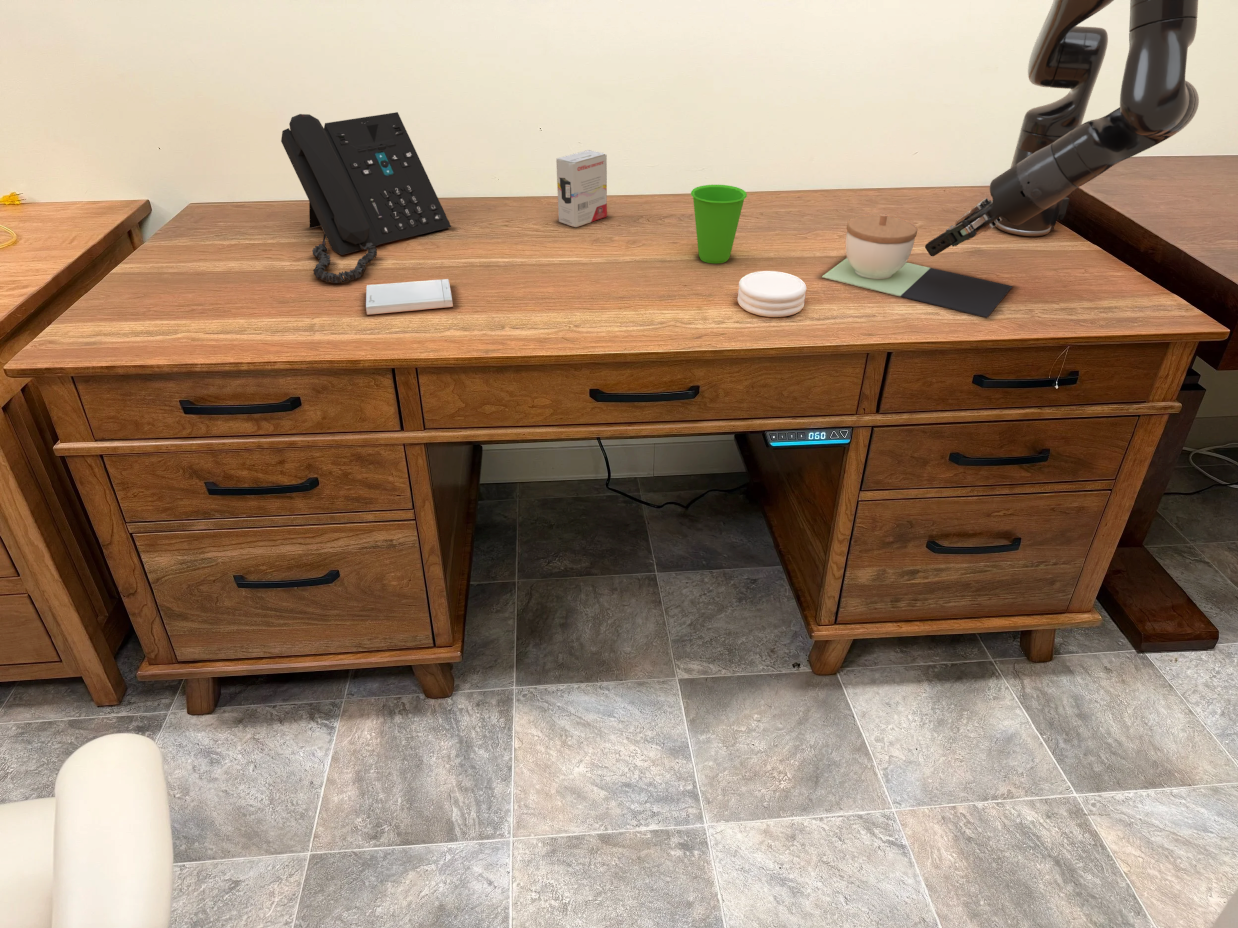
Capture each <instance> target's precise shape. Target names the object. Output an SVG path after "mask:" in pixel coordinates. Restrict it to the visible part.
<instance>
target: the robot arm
mask: <svg viewBox="0 0 1238 928" xmlns="http://www.w3.org/2000/svg"><path fill="white" fill-rule="evenodd" d="M1114 1H1115V0H1053V1H1052V4H1051V6H1050V8H1049V11H1048V13H1047V16H1046V17H1045V19H1044V22H1043V24H1042V26H1041V29H1040V31H1039V33H1038V35H1037V36H1036V37H1037V38H1036V40H1035V42H1034V45H1033V47H1032V49H1031V52H1030V56H1029V59H1028V63H1027V77H1028V80H1029V82H1030V83H1031V84H1032V85H1034V86H1037V87H1041V88H1050V89H1065V90H1069V92H1068V93H1067V94H1065V95H1064V96H1063V97H1061V98H1059V99H1057V100H1055V101H1053V102H1051V103H1047V104H1043V105H1039V106H1037V107H1033V108H1031V109H1029V110H1027V111H1026V112H1025V113H1024V115H1023V119H1022V123H1021V126H1020V127H1021V128H1020V129H1019V130H1020V131H1019V134H1018V137H1017V141H1016V146H1015V150H1014V154H1013V157H1012V160H1011V166H1010V168H1009V169H1007V170H1005V171H1004V172H1002V173H1001V174H1000V175H998V176H996V177H995V178H993V179H992V180H991V182H990V184H989V194H990V197H991V198H992V200H991V199H989V198H988V197H986V198H984V199H982V200H981V201H979V202H978V203H977V204H976V205H975V206H974V207H973V208H971V209H970V210H968V211H967V212H966V213H964V214H963V215H961V217H959V218H958V219H957V220H956V221H955V223H954V224H952V225H949V227H948V228H946V229H945V231H943V232H942V233H941V234H939V235H937V236H936V237H934V238H933V239H931V240H930V241H928V242H927V243H926V244H925V245H924V248H925V250H926V251H927V253H928V255H929V256H930V257H935V256H937V255H939V254H940V253H942V252H943V251H945V250H947V249H948V248H950V247H952V248H953V247H957V246H958V245H960V244H962V243H964V242H966V241H969V240H972V239H973V238H975V237H976V236H978V235H979V234H981V233H983V232H984V233H985V232H988V231H990V230H991V229H993V228H994V227H996V228H997V229H999V230H1000V231H1002V232H1005V233H1006V234H1007V233H1008V234H1010V235H1011V234H1012V235H1015V236H1020V237H1021V236H1023V237H1043V236H1045V235H1048V234H1049V233H1050V232H1053V231H1054V230H1055V227H1056V224H1057V222H1058V220H1064V218H1065V215H1066V213H1067V208H1068V205H1069V202H1070V198H1069V197H1068V196H1069V195H1070V194H1072V193H1073V192H1074V191H1076V190H1077V189H1078V188H1081V187H1082V186H1084V185H1085V184H1087V183H1089V182H1090V181H1092V180H1093V179H1095V178H1097V177H1098V176H1100V175H1102V174H1103V173H1105V172H1106V171H1108V170H1109V169H1111V168H1113V167H1114V166H1116V165H1117V164H1119V163H1121V162H1123V161H1125V160H1127V159H1129V158H1132V157H1134V156H1136V155H1138V154H1141V153H1142V152H1145V151H1146V150H1149V149H1151V148H1152V147H1154V146H1157V145H1159V144H1161V143H1163V142H1165V141H1166V140H1168V139H1170V138H1172V137H1173V136H1175V135H1176V134H1178V133H1180V132H1181V131H1182V130H1183V129H1184V128H1186V127H1187V126H1188V125H1189V124H1190V123H1191V121H1192V120H1193V118H1194V117H1195V115H1196V114H1197V111H1198V108H1199V103H1200V97H1199V93H1198V91H1197V88H1196V87H1195V86H1194V85H1193V84H1192V83H1191V82H1190V81H1188V80H1187V79H1186V71H1187V63H1188V62H1187V61H1188V60H1187V59H1188V50H1189V48H1190V47H1191V45H1192V44H1193V43H1194V41H1195V38H1196V34H1197V28H1198V14H1199V13H1198V12H1199V0H1129V1H1130V2H1129V4H1130V5H1129V29H1128V30H1129V31H1128V32H1129V33H1128V39H1129V40H1128V41H1129V42H1128V43H1129V47H1128V48H1129V49H1128V53H1127V57H1126V61H1125V66H1124V71H1123V76H1122V81H1121V86H1120V92H1119V93H1120V94H1119V107H1118V108H1115V109H1114V110H1113V111H1111V112H1110V113H1108V114H1106V115H1104V116H1102V117H1099V118H1095V119H1091V120H1088V121H1086V122H1083V121H1084V118H1085V115H1086V112H1087V108H1088V105H1089V102H1090V99H1091V96H1092V93H1093V91H1094V87H1095V85H1096V82H1097V79H1098V76H1099V74H1100V71H1101V69H1102V66H1103V62H1104V60H1105V57H1106V53H1107V49H1108V43H1109V34H1108V31H1107V30H1106V29H1105V28H1103V27H1096V26H1081V25H1080V24H1081V23H1083V22H1085V21H1087V20H1088V19H1089V18H1091V17H1092V16H1094V15H1096V14H1097V13H1099V12H1100V11H1103V9H1105V8H1107V7H1108V6H1109V5H1110V4H1111V3H1113V2H1114ZM1078 25H1080V26H1078Z"/></svg>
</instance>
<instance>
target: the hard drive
mask: <svg viewBox="0 0 1238 928" xmlns="http://www.w3.org/2000/svg"><path fill="white" fill-rule="evenodd" d="M365 290H366V291H365V311H366V316H367V315H370V316H371V315H379V314H390V313H391V314H392V313H401V312H402V313H403V312H411V311H422V310H423V311H424V310H432V309H443V308H453V307H454V305H453V303H454V302H453V296H452V295H453V294H452V289H451V285H450V279H449V278H442V279H429V280H428V279H427V280H418V281H417V280H415V281H402V282H392V283H391V282H389V283H378V284H377V283H376V284H367V285H366V289H365Z"/></svg>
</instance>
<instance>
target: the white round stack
mask: <svg viewBox="0 0 1238 928" xmlns="http://www.w3.org/2000/svg"><path fill="white" fill-rule="evenodd" d="M806 292H807V284H806V283H805V282H804V281H803V280H802V279H801V278H800V277H798V276H796V275H794V274H791V273H787V272H783V271H777V270H759V271H753V272H750V273H747V274H746V275H744V276H743V277H742V278H740V279H739V282H738V289H737V294H738V295H737V297H736V298H737V303H738V305H739V306H740V307H741V308H742V310H744V311H746V312H748V313H750V314H752V315H757V316H761V317H765V318H766V317H767V318H783V317H790V316H793V315H796V314H798V313H799V312H801V311H802V310H803V308H804V307H805V300H806V297H807V295H806Z"/></svg>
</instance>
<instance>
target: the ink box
mask: <svg viewBox="0 0 1238 928" xmlns="http://www.w3.org/2000/svg"><path fill="white" fill-rule="evenodd" d="M607 160H608V159H607V154H606V153H604V152H601V151H596V150H592V149H587V150H583V151H579V152H575V153H572V154H569V155H568V154H567V155H564V156H560V157H557V158H556V161H555V162H556V185H557V213H558V223H561V224H564V225H567V226H569V227H573V228H579V227H581V226H584V225H587V224H590V223H593V222H596V221H598V220H601V219H605V218H607V217H608V185H607V184H608V181H607V180H608V170H607V167H608V165H607V163H608V161H607Z"/></svg>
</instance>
